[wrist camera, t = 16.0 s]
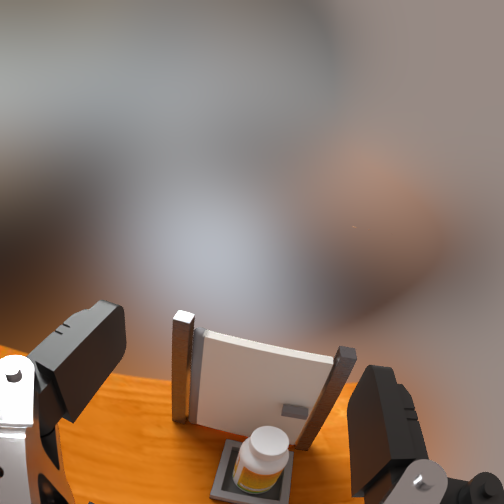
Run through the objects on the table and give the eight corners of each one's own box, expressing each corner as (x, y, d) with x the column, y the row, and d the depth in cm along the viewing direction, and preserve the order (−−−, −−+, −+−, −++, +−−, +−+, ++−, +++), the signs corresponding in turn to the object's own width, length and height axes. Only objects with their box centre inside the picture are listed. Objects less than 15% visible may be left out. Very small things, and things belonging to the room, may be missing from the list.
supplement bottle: (282, 486, 29) (306, 450, 25) (243, 500, 26) (258, 468, 23) (262, 455, 33) (280, 414, 30) (225, 467, 31) (235, 427, 27)
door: (184, 428, 35) (187, 341, 29) (190, 413, 38) (196, 325, 32) (293, 453, 34) (334, 373, 28) (294, 437, 36) (332, 355, 31)
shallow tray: (209, 498, 26) (210, 494, 26) (225, 443, 35) (226, 438, 34) (284, 511, 25) (287, 508, 25) (291, 456, 34) (293, 451, 33)
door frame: (172, 420, 36) (172, 318, 30) (176, 411, 38) (179, 309, 32) (307, 450, 35) (357, 359, 28) (307, 440, 37) (354, 348, 30)
